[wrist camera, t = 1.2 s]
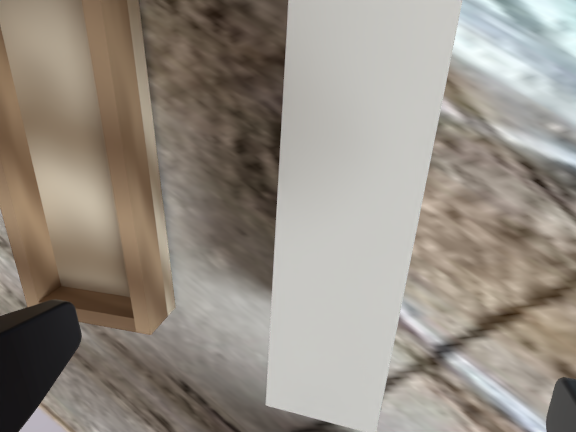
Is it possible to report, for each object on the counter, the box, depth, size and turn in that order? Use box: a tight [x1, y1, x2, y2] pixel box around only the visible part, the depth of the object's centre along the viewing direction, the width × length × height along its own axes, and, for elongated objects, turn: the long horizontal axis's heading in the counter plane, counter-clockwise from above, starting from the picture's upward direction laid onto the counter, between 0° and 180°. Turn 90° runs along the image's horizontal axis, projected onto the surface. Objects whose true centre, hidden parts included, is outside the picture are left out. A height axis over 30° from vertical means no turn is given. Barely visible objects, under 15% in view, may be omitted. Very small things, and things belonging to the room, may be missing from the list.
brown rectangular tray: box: [0, 0, 176, 335], centre depth 19 cm, size 17×7×2 cm, turn 0°
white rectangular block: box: [266, 0, 462, 432], centre depth 15 cm, size 14×4×6 cm, turn 176°
